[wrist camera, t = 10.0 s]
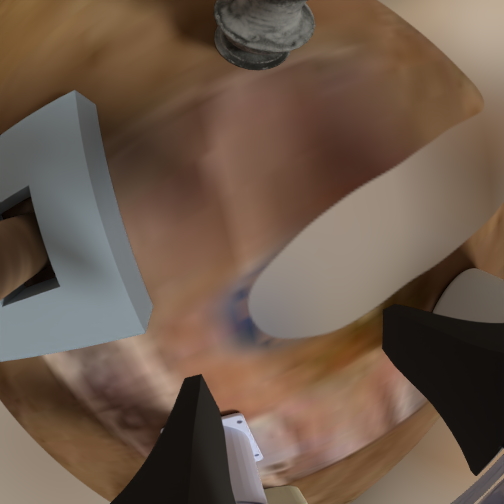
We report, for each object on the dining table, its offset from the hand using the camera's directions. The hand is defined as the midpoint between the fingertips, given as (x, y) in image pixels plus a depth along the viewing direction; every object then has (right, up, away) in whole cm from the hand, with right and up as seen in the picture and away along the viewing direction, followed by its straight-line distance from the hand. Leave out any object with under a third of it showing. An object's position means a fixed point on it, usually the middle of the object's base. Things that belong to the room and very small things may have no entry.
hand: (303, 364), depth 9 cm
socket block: (-17, +5, +5) cm, 18 cm away
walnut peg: (-17, +5, +5) cm, 18 cm away
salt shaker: (-2, +18, +5) cm, 19 cm away
